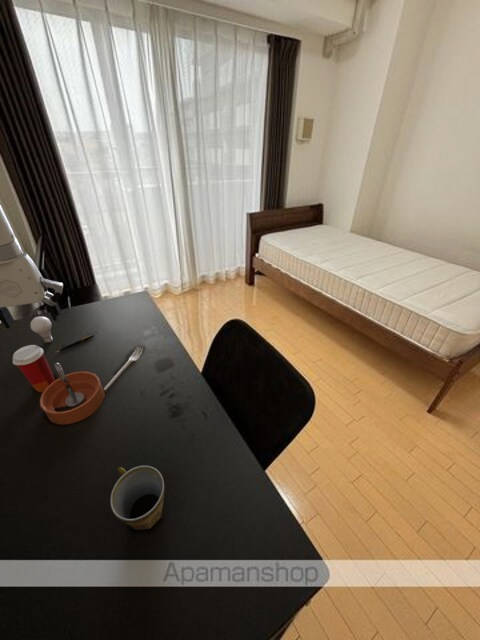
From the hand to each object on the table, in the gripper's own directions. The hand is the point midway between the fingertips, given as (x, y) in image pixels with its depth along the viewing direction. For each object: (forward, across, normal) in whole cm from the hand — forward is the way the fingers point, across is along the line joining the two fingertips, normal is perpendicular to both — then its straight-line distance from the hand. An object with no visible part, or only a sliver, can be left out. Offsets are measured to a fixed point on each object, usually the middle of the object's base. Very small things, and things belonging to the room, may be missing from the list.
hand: (34, 321), depth 66 cm
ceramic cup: (+31, +18, -34) cm, 49 cm away
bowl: (+30, 0, 0) cm, 30 cm away
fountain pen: (+31, -5, +30) cm, 43 cm away
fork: (+31, +13, +11) cm, 35 cm away
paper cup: (+31, -11, +11) cm, 34 cm away
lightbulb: (+31, -15, +35) cm, 49 cm away
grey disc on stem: (+30, 0, 0) cm, 30 cm away
